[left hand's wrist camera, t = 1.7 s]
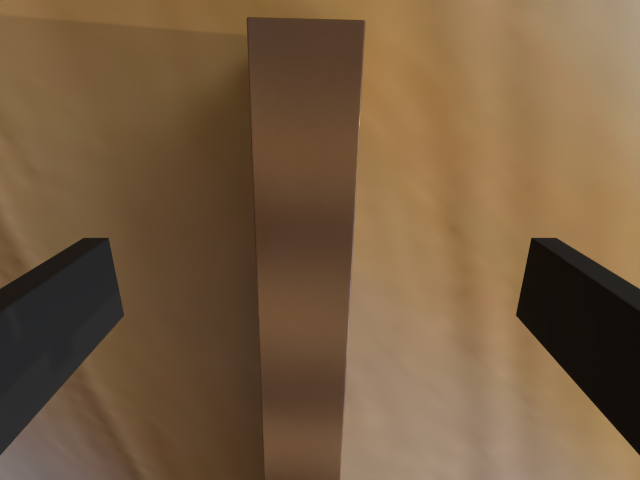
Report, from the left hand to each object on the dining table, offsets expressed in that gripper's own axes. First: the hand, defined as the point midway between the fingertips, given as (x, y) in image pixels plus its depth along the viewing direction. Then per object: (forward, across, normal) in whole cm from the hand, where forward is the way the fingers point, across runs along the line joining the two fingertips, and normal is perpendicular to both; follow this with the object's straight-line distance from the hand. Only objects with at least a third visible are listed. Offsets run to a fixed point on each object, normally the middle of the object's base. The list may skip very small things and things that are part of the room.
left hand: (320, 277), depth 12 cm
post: (+14, -1, -28) cm, 32 cm away
